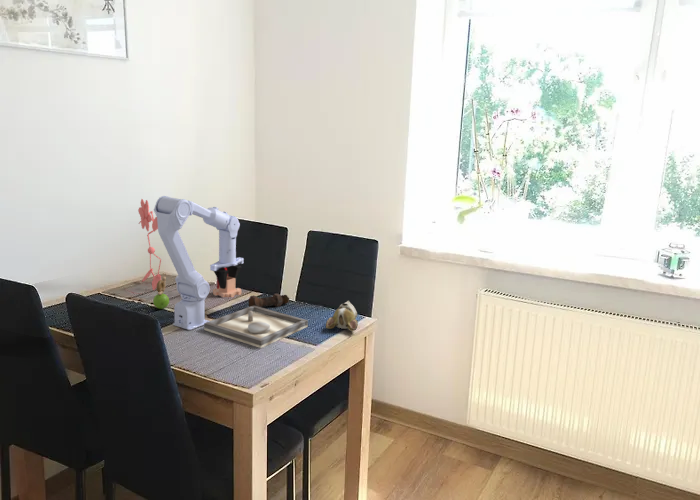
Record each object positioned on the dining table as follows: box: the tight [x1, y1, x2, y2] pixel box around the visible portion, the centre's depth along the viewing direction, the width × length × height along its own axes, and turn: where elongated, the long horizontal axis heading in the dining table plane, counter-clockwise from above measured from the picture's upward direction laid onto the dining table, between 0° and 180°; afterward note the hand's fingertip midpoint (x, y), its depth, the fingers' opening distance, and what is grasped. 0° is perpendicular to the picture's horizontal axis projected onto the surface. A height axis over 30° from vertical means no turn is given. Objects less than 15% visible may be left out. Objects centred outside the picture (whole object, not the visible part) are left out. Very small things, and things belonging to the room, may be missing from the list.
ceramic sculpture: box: [325, 300, 359, 332], centre depth 206 cm, size 11×9×15 cm
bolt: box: [248, 293, 290, 308], centre depth 223 cm, size 6×5×15 cm
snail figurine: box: [152, 272, 170, 310], centre depth 215 cm, size 5×6×12 cm
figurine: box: [124, 198, 162, 295], centre depth 235 cm, size 15×26×35 cm, turn 35°
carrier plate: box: [203, 305, 309, 349], centre depth 201 cm, size 24×24×4 cm
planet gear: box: [212, 276, 242, 299], centre depth 214 cm, size 9×9×6 cm
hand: (227, 286), depth 214 cm, fingers closed on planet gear, 4 cm apart
